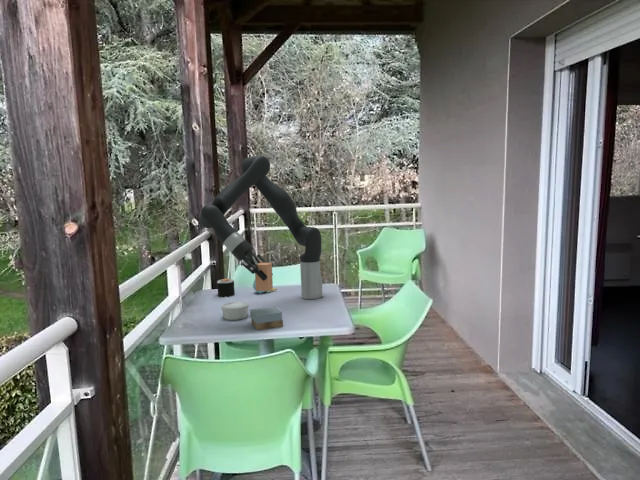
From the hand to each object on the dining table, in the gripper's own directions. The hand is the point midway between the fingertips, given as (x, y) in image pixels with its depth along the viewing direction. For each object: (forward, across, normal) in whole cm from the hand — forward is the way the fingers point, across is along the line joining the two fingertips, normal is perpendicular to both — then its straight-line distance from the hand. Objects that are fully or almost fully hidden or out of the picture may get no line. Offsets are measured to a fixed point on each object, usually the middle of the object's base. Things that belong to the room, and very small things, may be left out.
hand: (268, 277), depth 191 cm
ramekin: (0, +9, +27) cm, 28 cm away
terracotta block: (+2, 0, +5) cm, 5 cm away
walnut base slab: (+13, 0, +14) cm, 19 cm away
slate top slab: (+10, 0, +12) cm, 16 cm away
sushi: (-15, +45, +42) cm, 63 cm away
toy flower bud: (-3, +52, +29) cm, 60 cm away
